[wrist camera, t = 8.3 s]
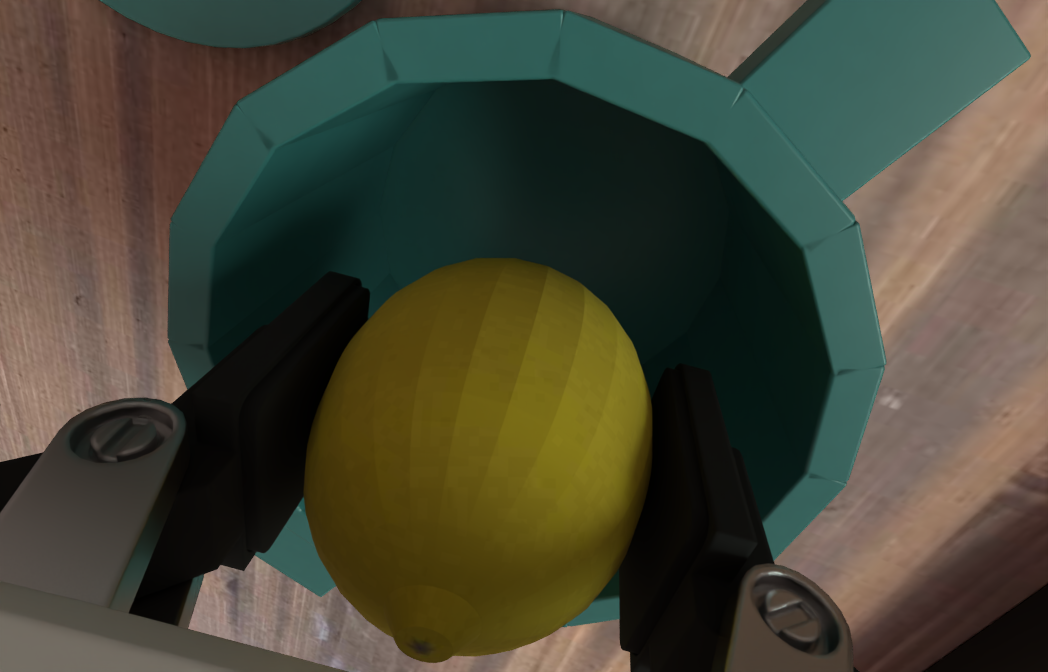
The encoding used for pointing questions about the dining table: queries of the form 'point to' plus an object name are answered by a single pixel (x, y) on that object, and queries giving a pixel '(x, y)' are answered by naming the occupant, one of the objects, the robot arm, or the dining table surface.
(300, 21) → the lid
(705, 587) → the robot arm
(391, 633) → the lemon
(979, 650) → the food platter
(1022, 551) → the dining table surface
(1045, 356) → the dining table surface
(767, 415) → the pot
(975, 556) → the dining table surface
